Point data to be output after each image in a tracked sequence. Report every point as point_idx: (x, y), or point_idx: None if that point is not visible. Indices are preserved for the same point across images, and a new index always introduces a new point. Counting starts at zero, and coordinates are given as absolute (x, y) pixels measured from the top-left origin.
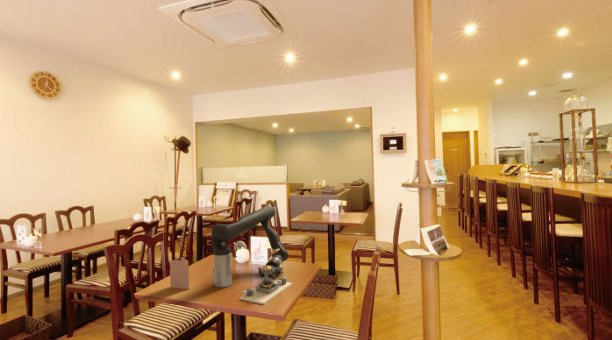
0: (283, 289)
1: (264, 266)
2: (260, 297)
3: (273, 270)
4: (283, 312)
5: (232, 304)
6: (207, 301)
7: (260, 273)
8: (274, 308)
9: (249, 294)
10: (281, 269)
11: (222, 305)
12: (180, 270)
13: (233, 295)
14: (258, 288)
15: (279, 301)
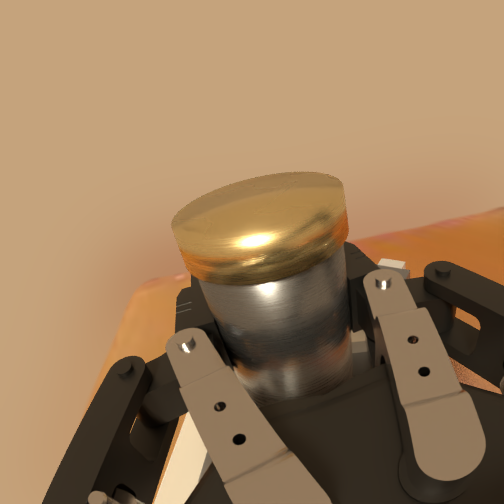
0: (161, 487)
1: (307, 188)
2: None
3: (194, 367)
4: (133, 294)
5: (386, 249)
6: (490, 222)
7: (363, 257)
8: (173, 300)
9: None
10: (64, 481)
11: (413, 232)
12: None
13: None
14: (357, 344)
15: (162, 352)
